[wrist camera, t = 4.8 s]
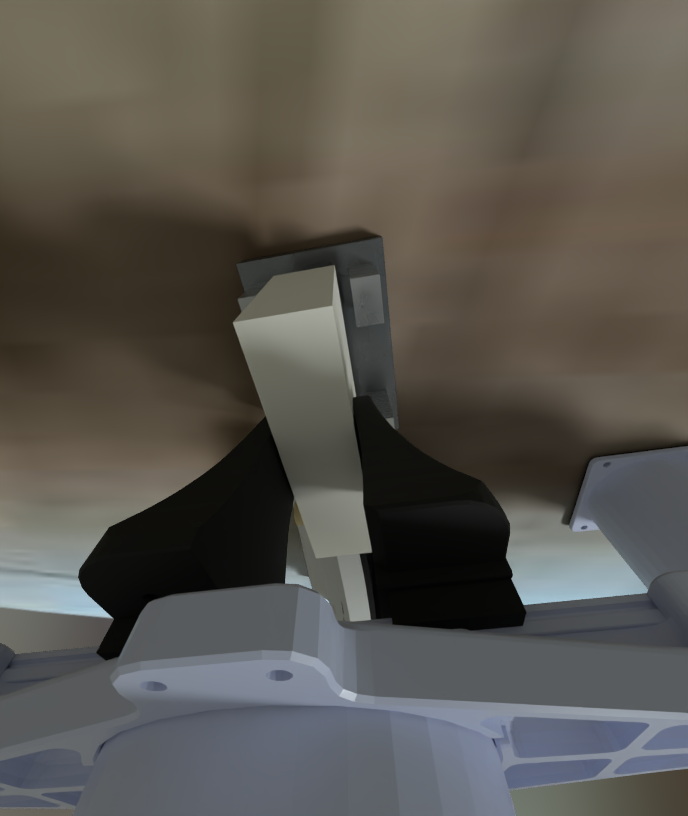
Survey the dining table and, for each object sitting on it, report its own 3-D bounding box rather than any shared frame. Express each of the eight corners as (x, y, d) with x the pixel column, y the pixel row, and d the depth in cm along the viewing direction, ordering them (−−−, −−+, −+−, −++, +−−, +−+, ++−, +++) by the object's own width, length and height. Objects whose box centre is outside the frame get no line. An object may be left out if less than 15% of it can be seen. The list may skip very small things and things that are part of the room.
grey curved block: (279, 444, 22) (322, 571, 14) (342, 426, 24) (414, 534, 16) (309, 579, 31) (346, 705, 23) (354, 561, 33) (404, 674, 25)
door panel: (334, 265, 13) (332, 305, 8) (365, 454, 18) (376, 551, 13) (261, 278, 13) (213, 325, 8) (313, 461, 18) (304, 559, 13)
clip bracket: (379, 235, 16) (391, 243, 12) (396, 420, 22) (407, 460, 18) (241, 261, 16) (215, 275, 13) (294, 434, 22) (286, 476, 19)
